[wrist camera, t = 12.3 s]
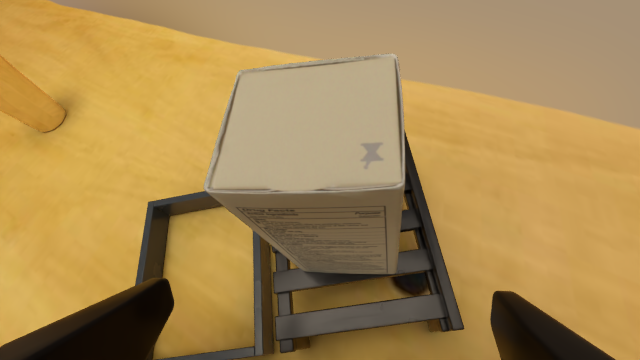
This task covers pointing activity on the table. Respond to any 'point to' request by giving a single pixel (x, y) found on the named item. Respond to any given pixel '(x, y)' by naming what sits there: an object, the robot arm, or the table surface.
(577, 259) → the table surface
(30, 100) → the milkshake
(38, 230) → the table surface
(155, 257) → the gray rectangular frame
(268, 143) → the beige box
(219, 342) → the table surface
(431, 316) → the top rack
